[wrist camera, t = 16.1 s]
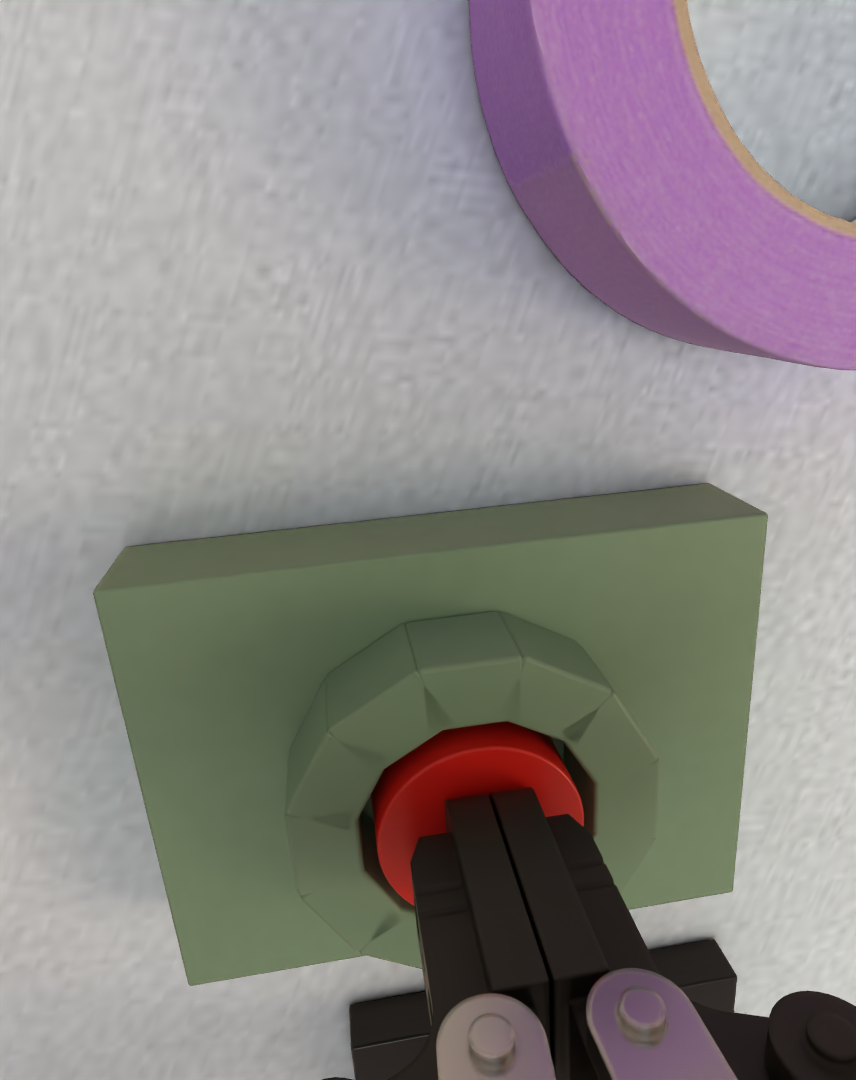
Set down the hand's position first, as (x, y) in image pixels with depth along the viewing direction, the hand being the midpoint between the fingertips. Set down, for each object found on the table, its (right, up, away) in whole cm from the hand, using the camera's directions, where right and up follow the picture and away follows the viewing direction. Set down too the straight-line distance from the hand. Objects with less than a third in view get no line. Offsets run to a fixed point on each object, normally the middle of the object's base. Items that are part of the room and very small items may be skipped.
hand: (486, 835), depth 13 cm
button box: (-1, +1, +4) cm, 4 cm away
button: (0, +1, +2) cm, 2 cm away
